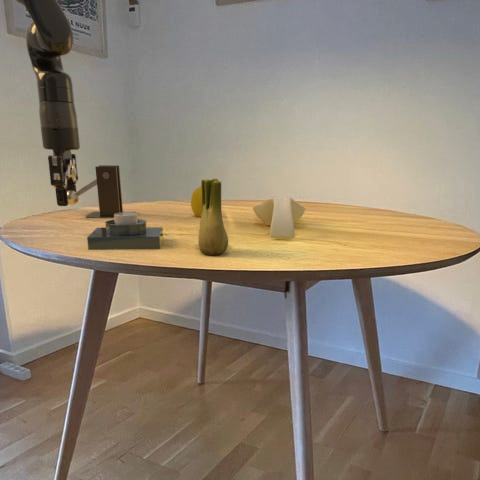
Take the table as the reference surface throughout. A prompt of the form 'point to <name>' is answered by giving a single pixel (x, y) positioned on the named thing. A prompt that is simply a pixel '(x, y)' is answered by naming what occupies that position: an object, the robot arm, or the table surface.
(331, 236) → the table surface
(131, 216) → the flush button
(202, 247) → the fennel bulb
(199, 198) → the lemon
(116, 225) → the button block
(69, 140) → the robot arm
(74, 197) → the flush lever
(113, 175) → the lever bracket
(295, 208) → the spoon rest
